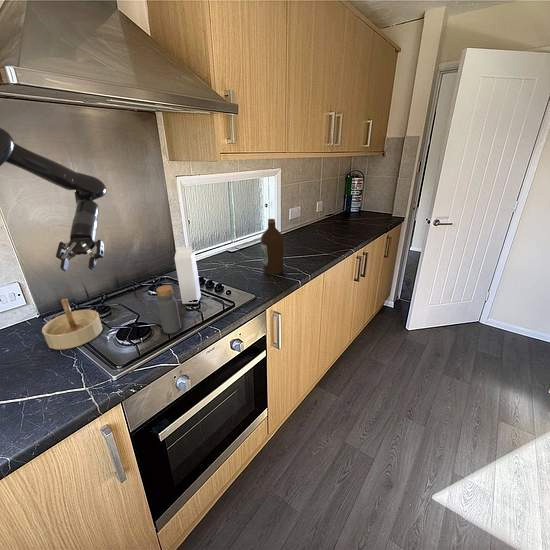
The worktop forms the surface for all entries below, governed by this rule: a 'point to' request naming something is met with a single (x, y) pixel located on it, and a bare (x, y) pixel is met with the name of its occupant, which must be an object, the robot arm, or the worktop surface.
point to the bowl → (61, 340)
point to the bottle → (168, 309)
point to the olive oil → (272, 249)
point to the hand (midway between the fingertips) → (77, 269)
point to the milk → (187, 275)
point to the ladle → (70, 318)
